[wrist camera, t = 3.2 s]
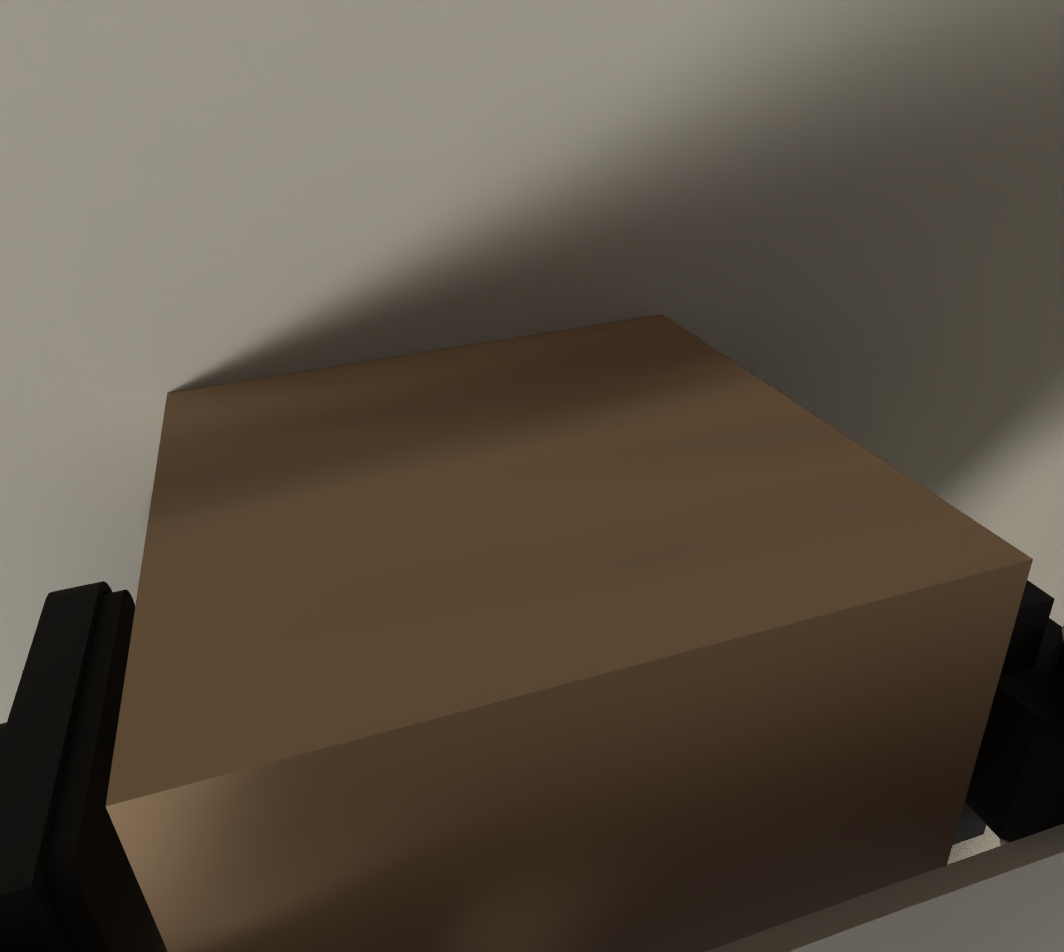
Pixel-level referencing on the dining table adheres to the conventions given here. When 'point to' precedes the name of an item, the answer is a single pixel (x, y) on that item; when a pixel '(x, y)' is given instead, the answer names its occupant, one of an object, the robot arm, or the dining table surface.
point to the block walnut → (541, 656)
